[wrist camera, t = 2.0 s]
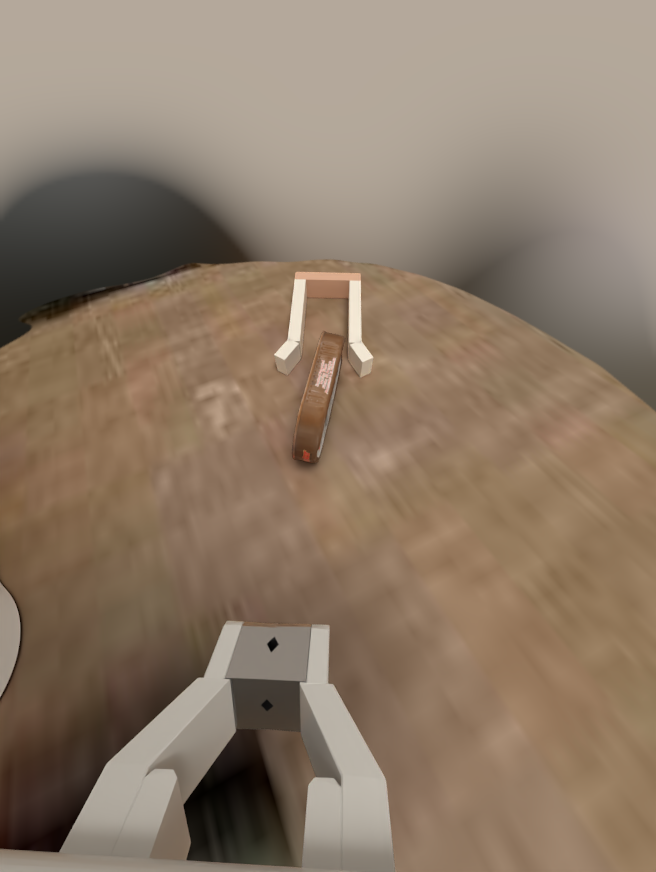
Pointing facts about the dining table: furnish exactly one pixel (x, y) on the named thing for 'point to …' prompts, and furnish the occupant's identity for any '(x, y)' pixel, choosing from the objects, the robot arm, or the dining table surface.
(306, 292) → the guide channel
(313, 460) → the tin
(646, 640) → the dining table surface
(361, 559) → the dining table surface
